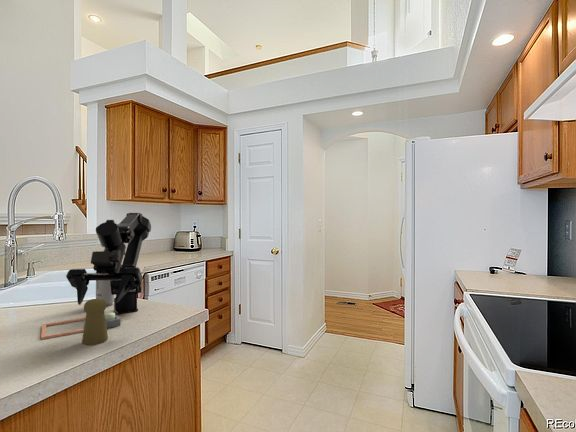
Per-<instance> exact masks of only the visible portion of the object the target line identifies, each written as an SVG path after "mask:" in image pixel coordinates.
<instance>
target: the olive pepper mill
mask: <svg viewBox="0 0 576 432" xmlns="http://www.w3.org/2000/svg"><path fill="white" fill-rule="evenodd" d="M107 307H108V306H107V303H106V301H105V300H104V299H96V298H93V299H89V300H87V301H85V303H84V305H83V311H84V313H86V314H85V317H86V319H85V320H84V324H83V325H84V326H83V329H84V332H82V340H81V345H84V346H94V345H95V346H96V345H99V344H103V343H105V342H107V341H108V339H109V334H108V328H107V327H106V320H105V314H106V313H105V311H106V310H107Z"/></svg>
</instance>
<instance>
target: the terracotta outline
mask: <svg viewBox="0 0 576 432" xmlns="http://www.w3.org/2000/svg"><path fill="white" fill-rule="evenodd" d="M85 319H86V316H85V317H80V318H79V317H78V318H72V319H67V320H61V321H60V320H59V321H54V322H49V323H42V324H41V335H40V336H41V340H42V341H43V340H47V339H52V338H57V337H62V336H69V335H73V334H74V335H76V334H80V333H83V332H84V328H80V329H76V330H75V329H74V330H69V331H63V332H57V333H51V334H47V327H51V326H57V325H64V324H70V323H74V322H75V323H77V322H81V321H85Z"/></svg>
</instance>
